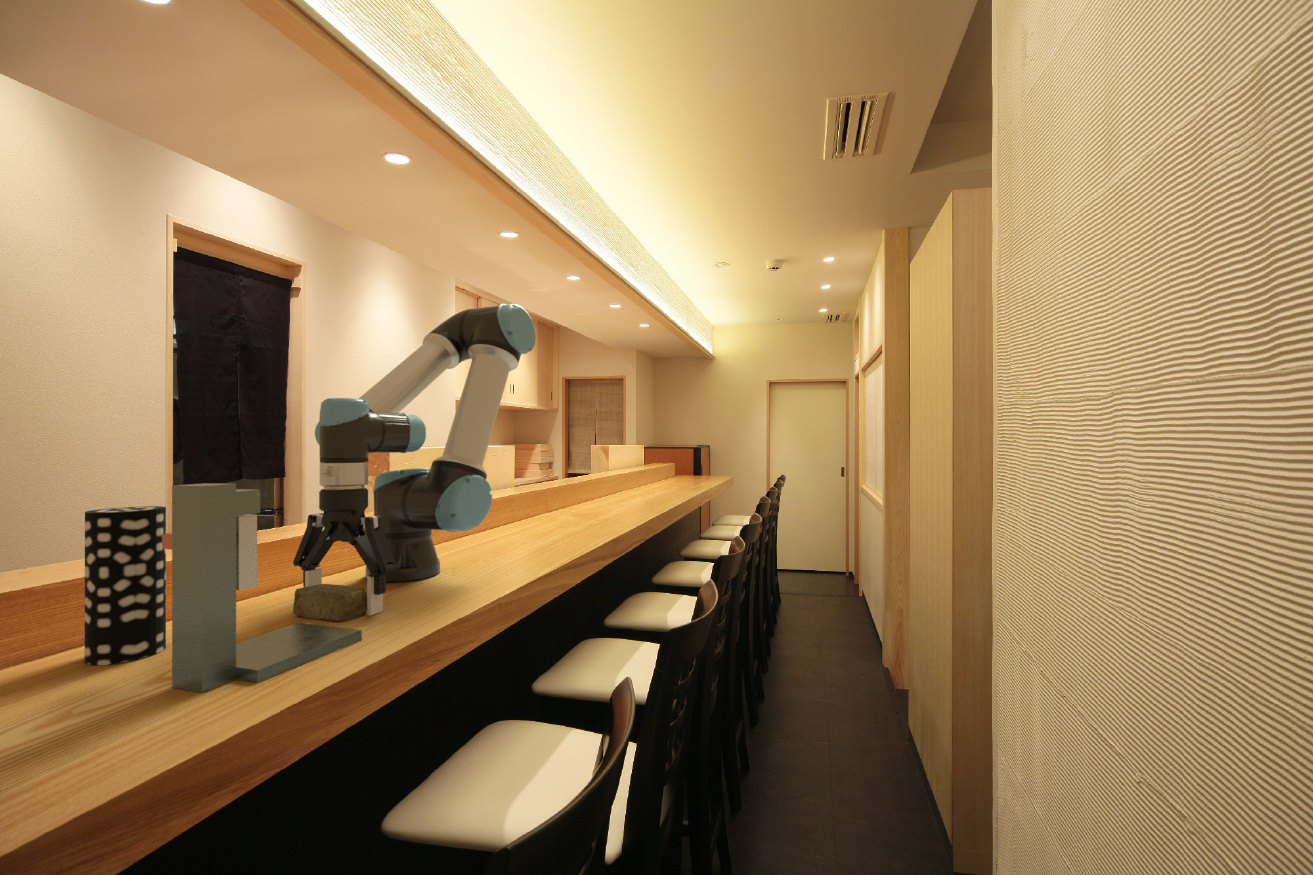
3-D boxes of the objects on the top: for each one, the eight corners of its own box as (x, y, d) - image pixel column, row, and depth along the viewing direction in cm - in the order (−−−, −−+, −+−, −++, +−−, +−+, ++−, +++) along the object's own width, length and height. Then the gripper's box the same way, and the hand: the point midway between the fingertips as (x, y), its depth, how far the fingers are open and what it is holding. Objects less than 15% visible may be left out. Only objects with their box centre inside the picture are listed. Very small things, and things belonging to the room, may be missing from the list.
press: (299, 632, 89) (299, 475, 90) (361, 639, 86) (361, 476, 86) (151, 684, 70) (152, 485, 71) (223, 696, 67) (223, 486, 67)
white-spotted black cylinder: (139, 663, 77) (139, 512, 77) (66, 667, 76) (67, 513, 76) (179, 642, 85) (179, 505, 86) (115, 645, 84) (115, 507, 84)
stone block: (342, 624, 94) (341, 593, 94) (289, 618, 98) (289, 588, 98) (370, 614, 99) (370, 585, 99) (319, 609, 103) (319, 581, 103)
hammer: (191, 578, 80) (191, 511, 80) (261, 584, 76) (261, 514, 76) (162, 584, 77) (162, 514, 77) (234, 591, 73) (234, 517, 73)
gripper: (270, 487, 102) (269, 609, 101) (386, 490, 94) (385, 622, 94) (307, 484, 109) (307, 598, 108) (418, 487, 101) (418, 609, 101)
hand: (343, 610), depth 101 cm, fingers open, 13 cm apart
